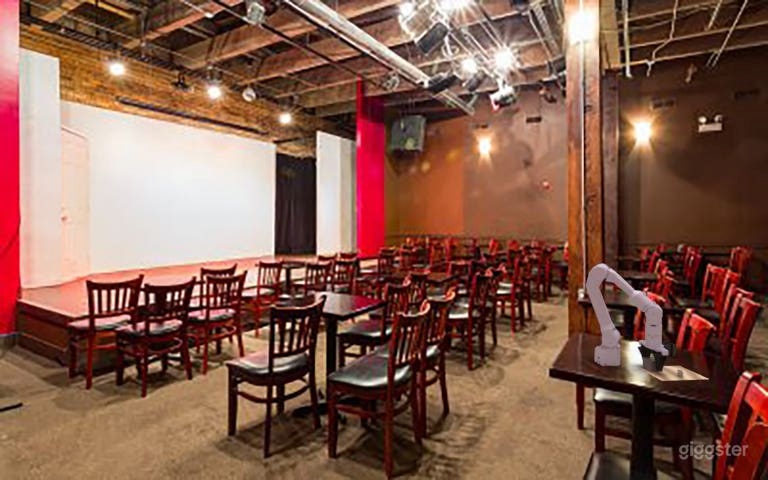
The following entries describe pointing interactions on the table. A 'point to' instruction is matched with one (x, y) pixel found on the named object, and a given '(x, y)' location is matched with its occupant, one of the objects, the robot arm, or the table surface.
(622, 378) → the table surface
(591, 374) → the table surface
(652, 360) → the grey cube
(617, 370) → the table surface
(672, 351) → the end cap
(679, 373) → the post
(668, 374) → the board
